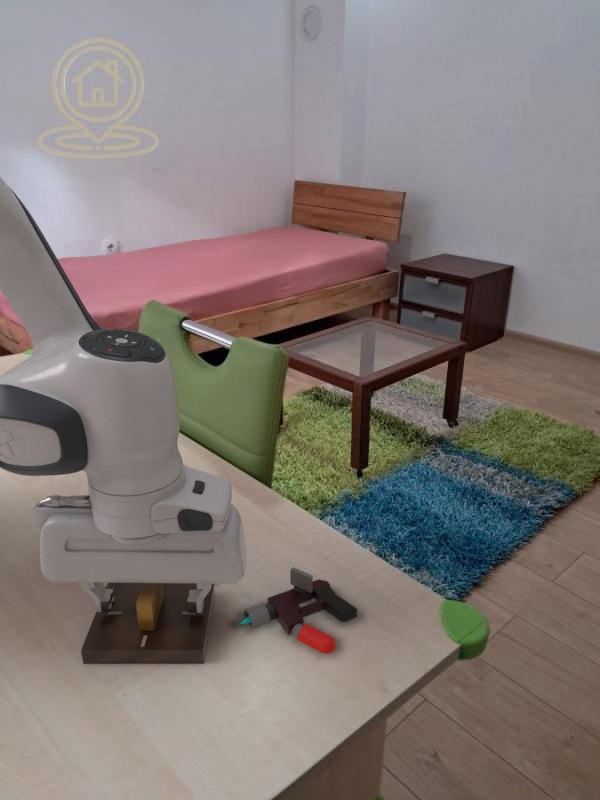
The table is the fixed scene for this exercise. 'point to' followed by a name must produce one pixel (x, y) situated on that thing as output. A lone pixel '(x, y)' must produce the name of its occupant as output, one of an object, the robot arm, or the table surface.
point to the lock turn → (149, 605)
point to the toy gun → (302, 610)
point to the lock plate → (168, 644)
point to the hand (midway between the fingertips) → (151, 608)
